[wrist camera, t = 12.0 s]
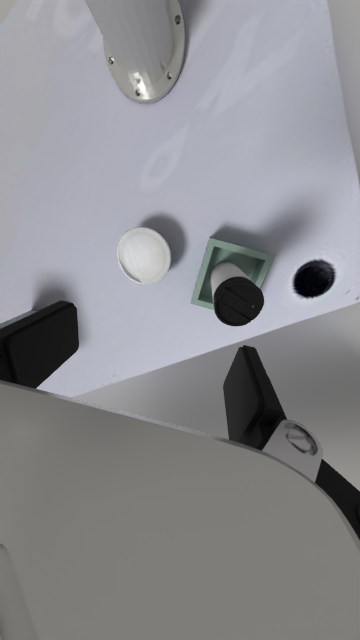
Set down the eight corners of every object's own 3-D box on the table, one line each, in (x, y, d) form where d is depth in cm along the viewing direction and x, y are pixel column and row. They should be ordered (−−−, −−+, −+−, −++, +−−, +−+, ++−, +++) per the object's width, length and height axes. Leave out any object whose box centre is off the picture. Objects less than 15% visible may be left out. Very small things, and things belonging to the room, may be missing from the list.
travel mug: (220, 254, 39) (233, 269, 21) (245, 271, 40) (278, 301, 21) (203, 278, 41) (201, 311, 23) (227, 294, 42) (242, 338, 24)
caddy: (209, 237, 38) (209, 237, 34) (266, 253, 38) (274, 255, 34) (192, 296, 44) (190, 303, 40) (241, 310, 44) (245, 318, 39)
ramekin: (117, 257, 43) (106, 260, 38) (144, 215, 38) (136, 212, 33) (154, 289, 45) (148, 295, 40) (184, 252, 40) (181, 255, 35)
